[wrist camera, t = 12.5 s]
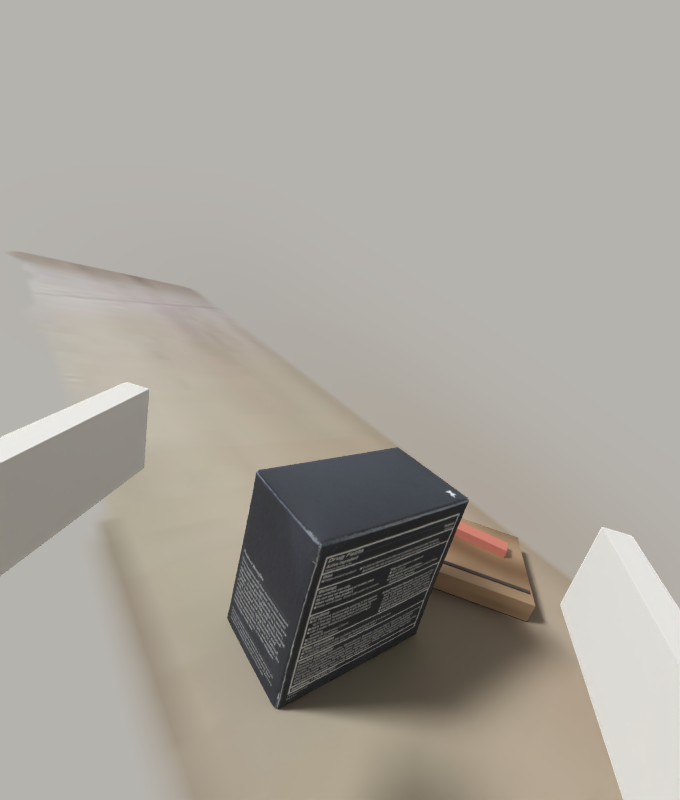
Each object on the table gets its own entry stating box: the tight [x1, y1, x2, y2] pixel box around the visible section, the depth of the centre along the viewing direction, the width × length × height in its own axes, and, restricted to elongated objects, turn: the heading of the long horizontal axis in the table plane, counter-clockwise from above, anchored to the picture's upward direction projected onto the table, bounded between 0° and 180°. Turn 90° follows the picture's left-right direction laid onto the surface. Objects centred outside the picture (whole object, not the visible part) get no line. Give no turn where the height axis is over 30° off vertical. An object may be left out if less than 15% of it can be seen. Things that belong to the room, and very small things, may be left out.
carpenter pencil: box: [455, 522, 508, 558], centre depth 38 cm, size 14×1×1 cm, turn 68°
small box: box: [227, 447, 469, 708], centre depth 26 cm, size 11×6×10 cm, turn 127°
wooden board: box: [433, 518, 535, 622], centre depth 36 cm, size 8×18×2 cm, turn 77°
